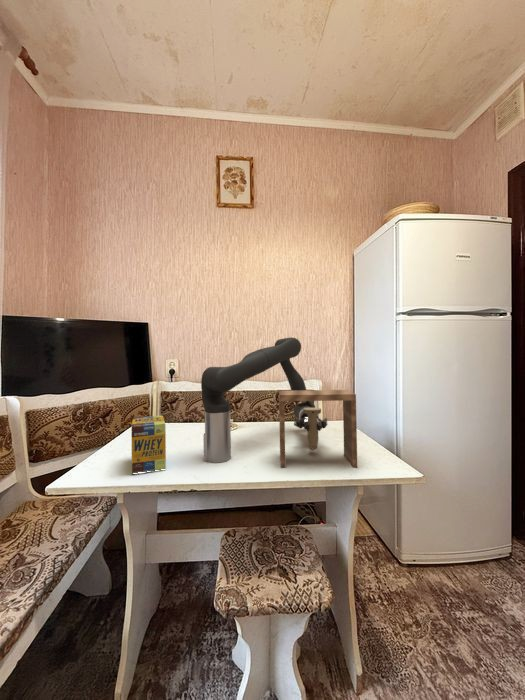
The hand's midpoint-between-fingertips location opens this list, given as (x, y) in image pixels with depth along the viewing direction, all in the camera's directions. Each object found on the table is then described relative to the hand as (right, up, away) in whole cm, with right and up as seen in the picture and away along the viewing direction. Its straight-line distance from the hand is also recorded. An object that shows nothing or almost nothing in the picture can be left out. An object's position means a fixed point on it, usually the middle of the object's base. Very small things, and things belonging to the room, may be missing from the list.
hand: (313, 428), depth 109 cm
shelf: (0, -10, -6) cm, 12 cm away
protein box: (-58, -11, -6) cm, 60 cm away
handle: (0, -9, +3) cm, 9 cm away
